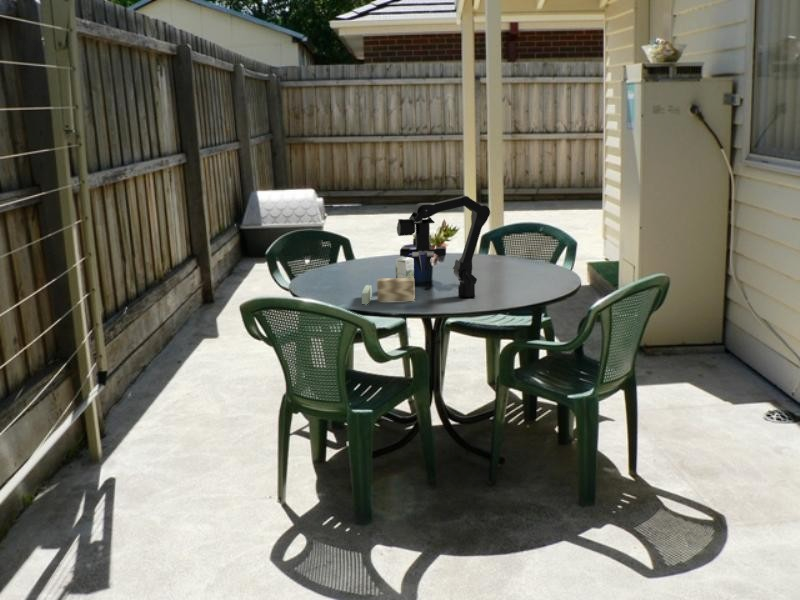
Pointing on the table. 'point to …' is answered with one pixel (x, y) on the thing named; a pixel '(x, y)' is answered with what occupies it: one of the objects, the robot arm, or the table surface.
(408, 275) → the syrup box
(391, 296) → the beech block
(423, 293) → the table surface
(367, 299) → the sage batten
